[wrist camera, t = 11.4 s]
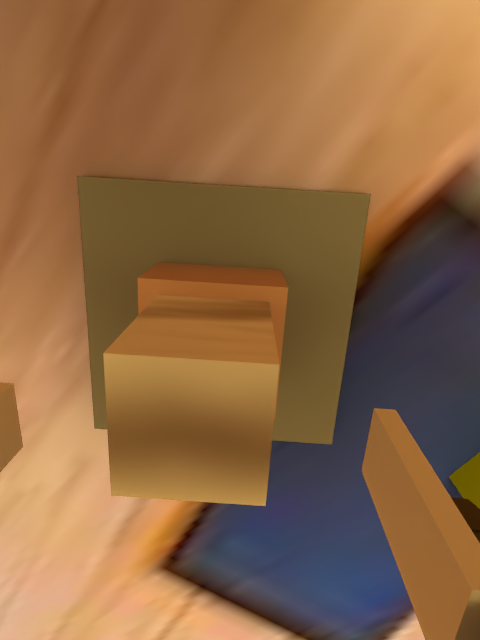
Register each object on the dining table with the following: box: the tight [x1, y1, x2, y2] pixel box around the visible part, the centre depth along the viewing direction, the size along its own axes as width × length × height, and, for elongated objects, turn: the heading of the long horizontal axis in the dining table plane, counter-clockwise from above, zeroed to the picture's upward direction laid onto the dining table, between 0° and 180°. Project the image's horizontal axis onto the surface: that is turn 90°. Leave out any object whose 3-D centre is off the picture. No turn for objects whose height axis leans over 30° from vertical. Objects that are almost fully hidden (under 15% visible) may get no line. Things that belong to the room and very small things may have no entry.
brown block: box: [103, 295, 279, 506], centre depth 18 cm, size 6×6×8 cm
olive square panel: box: [77, 176, 371, 444], centre depth 27 cm, size 18×18×1 cm
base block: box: [138, 262, 288, 419], centre depth 24 cm, size 8×8×5 cm
